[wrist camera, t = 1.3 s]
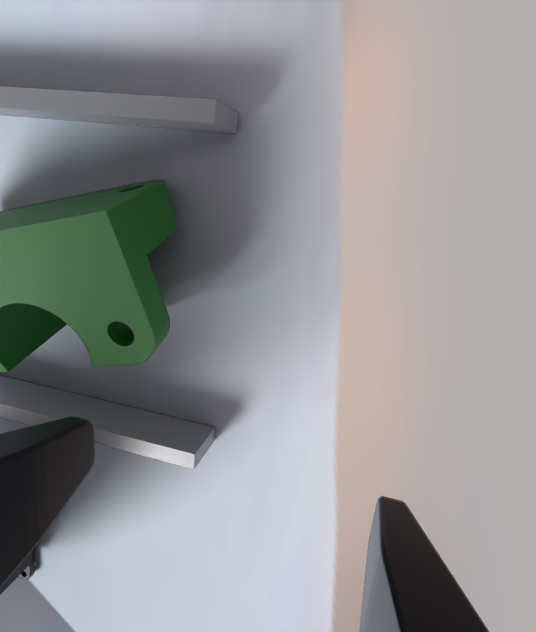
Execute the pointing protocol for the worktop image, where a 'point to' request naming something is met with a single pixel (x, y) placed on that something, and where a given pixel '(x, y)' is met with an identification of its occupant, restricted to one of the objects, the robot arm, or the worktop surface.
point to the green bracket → (85, 273)
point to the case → (52, 404)
